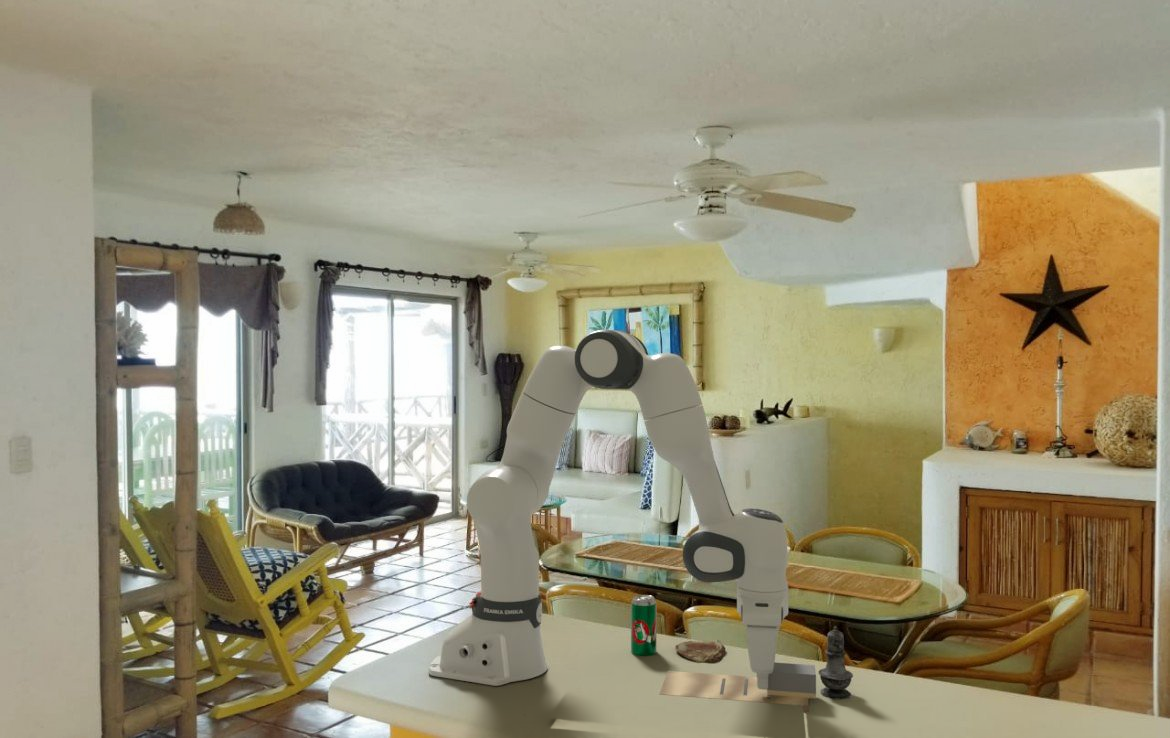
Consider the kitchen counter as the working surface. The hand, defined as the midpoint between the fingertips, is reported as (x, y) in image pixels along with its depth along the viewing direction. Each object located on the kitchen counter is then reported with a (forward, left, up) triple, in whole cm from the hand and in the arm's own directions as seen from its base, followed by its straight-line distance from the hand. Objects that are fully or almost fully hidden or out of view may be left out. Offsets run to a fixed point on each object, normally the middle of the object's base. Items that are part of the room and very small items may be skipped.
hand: (763, 682), depth 151 cm
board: (-5, 0, -3) cm, 6 cm away
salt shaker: (+12, +4, -3) cm, 13 cm away
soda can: (-24, +16, -3) cm, 29 cm away
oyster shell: (-13, +19, -3) cm, 23 cm away
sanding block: (+5, 0, -1) cm, 5 cm away
